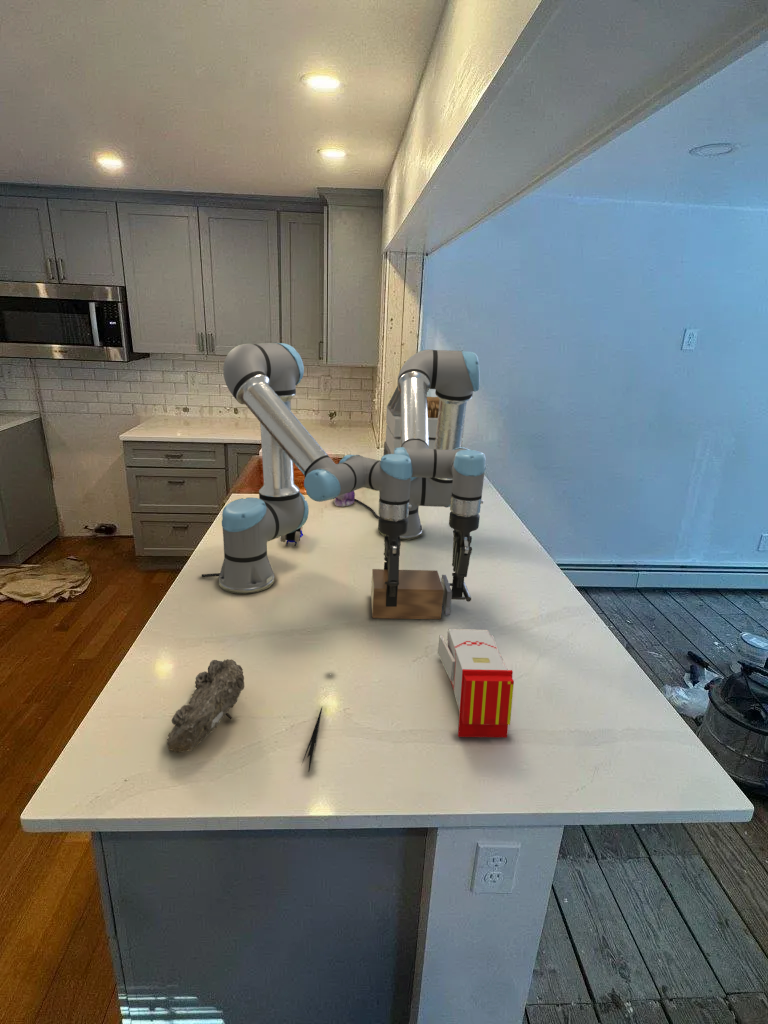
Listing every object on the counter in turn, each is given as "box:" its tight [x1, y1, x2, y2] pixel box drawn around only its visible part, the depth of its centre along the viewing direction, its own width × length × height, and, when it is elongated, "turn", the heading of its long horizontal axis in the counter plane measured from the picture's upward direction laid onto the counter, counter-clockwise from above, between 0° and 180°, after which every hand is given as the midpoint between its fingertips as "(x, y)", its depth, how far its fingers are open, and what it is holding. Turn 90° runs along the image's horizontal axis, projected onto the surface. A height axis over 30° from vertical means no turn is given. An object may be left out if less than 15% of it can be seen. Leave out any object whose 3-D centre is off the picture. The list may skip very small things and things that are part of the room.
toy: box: [437, 628, 515, 738], centre depth 117 cm, size 12×13×30 cm
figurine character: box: [280, 526, 304, 547], centre depth 189 cm, size 7×8×15 cm
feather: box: [301, 673, 332, 771], centre depth 108 cm, size 2×28×2 cm
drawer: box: [440, 574, 472, 616], centre depth 149 cm, size 22×10×7 cm, turn 93°
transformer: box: [383, 385, 465, 456], centre depth 268 cm, size 34×33×41 cm
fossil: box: [166, 658, 245, 754], centre depth 106 cm, size 22×10×15 cm
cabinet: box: [370, 568, 444, 620], centre depth 149 cm, size 18×11×8 cm, turn 93°
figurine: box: [333, 491, 356, 507], centre depth 225 cm, size 9×10×15 cm
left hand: (389, 594), depth 149 cm, fingers closed on cabinet, 11 cm apart
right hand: (456, 596), depth 150 cm, fingers closed
